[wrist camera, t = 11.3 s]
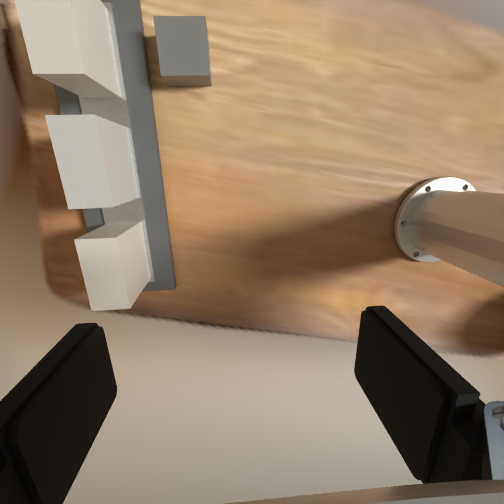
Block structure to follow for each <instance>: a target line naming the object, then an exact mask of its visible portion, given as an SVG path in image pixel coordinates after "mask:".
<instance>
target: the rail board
mask: <svg viewBox="0 0 504 504" xmlns="http://www.w3.org/2000/svg"><path fill="white" fill-rule="evenodd" d="M101 2H108V3H112V5H113V10H114V17H115V23H116V29H117V36H118V42H119V49H120V55H121V62H122V68H123V75H124V81H125V88H126V94H127V100H128V107H129V113H130V120H131V126H132V133H133V139H134V146H135V152H136V159H137V165H138V171H139V178H140V184H141V191H142V197H143V204H144V210H145V217H146V223H147V229H148V236H149V242H150V249H151V255H152V262H153V268H154V275H155V282H148V283H147V284H146V286H145V287H144V289H143V290H142V291H153V290H169V289H175V288H176V278H175V271H174V263H173V255H172V247H171V239H170V232H169V224H168V216H167V208H166V200H165V193H164V185H163V177H162V169H161V161H160V154H159V146H158V138H157V130H156V122H155V115H154V107H153V99H152V91H151V84H150V76H149V68H148V60H147V52H146V45H145V37H144V29H143V21H142V13H141V6H140V0H101ZM54 87H55V91H56V95H57V100H58V104H59V108H60V113H61V115H82V110H81V105H80V100H79V96H78V95H76V94H74V93H72V92H70V91H68V90H66V89H64V88H62V87H60V86H57V85H55V84H54ZM83 213H84V218H85V222H86V226H87V231H88V233H89V232H91V231H93V230H95V229H97V228H99V227H101V226H103V225H105V222H104V217H103V212H102V208H87V209H83Z"/></svg>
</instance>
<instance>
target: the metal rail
mask: <svg viewBox="0 0 504 504" xmlns="http://www.w3.org/2000/svg"><path fill="white" fill-rule="evenodd" d="M102 3H103V4H104V5H105V7H106V8H107V12H108V18H109V25H110V31H111V37H112V43H113V49H114V56H115V62H116V68H117V74H118V80H119V87H120V93H121V98H83V97H81V96H79V95H78V96H79V100H80V105H81V110H82V115H85V114H94V115H97V116H99V117H102V118H105V119H107V120H110V121H112V122H115V123H117V124H120V125H123V126H125V127H127V128H128V135H129V141H130V147H131V153H132V159H133V165H134V171H135V177H136V183H137V189H138V195H139V198H137V199H134V200H131V201H129V202H126V203H123V204H120V205H118V206H115V207H110V208H102V212H103V217H104V222H105V224H108V223H118V222H141V223H142V229H143V236H144V242H145V248H146V254H147V260H148V267H149V273H150V280H149V282H155V275H154V268H153V262H152V255H151V249H150V242H149V236H148V229H147V223H146V217H145V210H144V204H143V197H142V191H141V184H140V178H139V171H138V165H137V159H136V152H135V146H134V139H133V133H132V126H131V120H130V113H129V107H128V100H127V94H126V88H125V81H124V75H123V68H122V62H121V55H120V49H119V42H118V36H117V29H116V23H115V17H114V10H113V5H112V3H108V2H102Z"/></svg>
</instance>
